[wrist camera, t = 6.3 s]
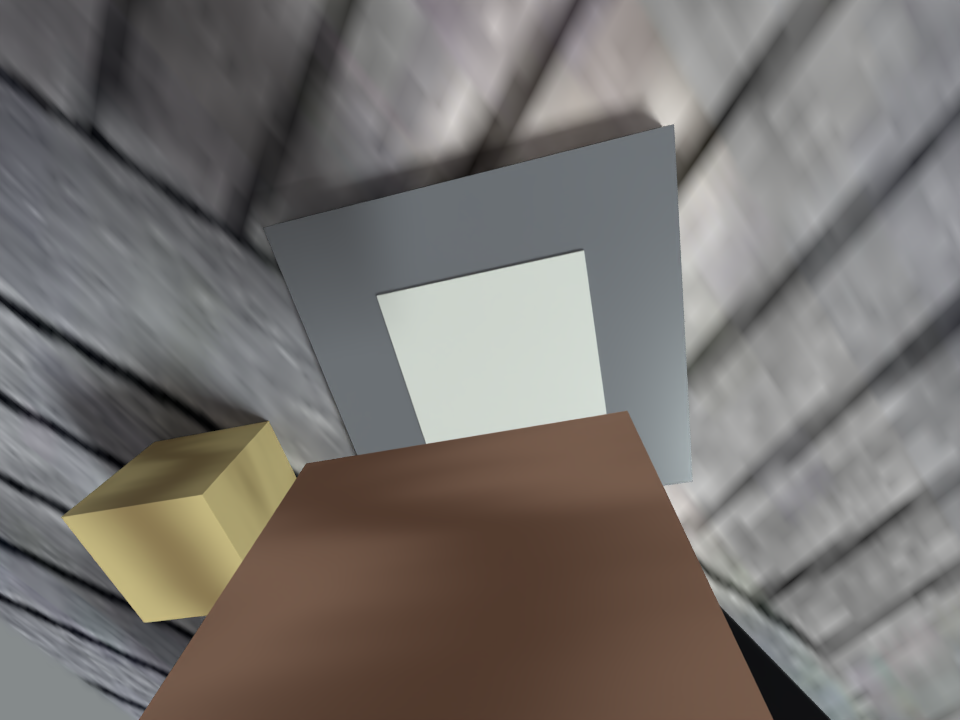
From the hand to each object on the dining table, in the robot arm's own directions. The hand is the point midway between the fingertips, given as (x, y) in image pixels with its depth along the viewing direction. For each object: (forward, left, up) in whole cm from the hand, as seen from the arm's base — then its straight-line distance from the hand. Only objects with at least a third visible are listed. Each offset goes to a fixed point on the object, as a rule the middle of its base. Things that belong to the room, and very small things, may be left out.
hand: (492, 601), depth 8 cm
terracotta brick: (0, 0, -1) cm, 1 cm away
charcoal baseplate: (0, 0, -11) cm, 11 cm away
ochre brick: (-14, -4, -11) cm, 18 cm away
